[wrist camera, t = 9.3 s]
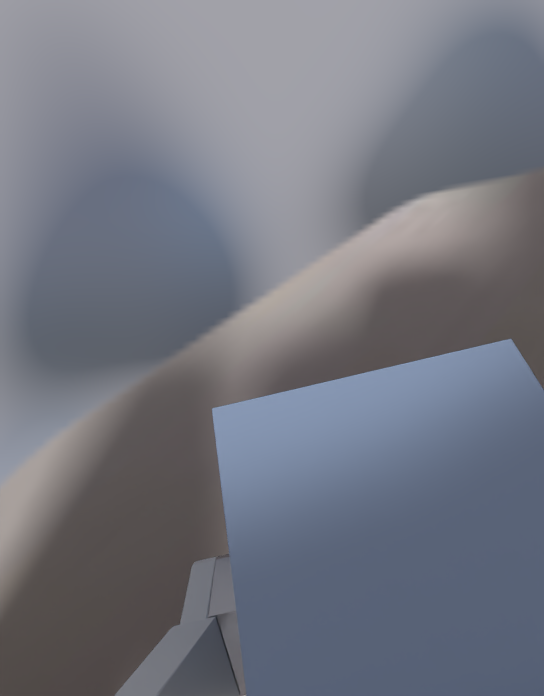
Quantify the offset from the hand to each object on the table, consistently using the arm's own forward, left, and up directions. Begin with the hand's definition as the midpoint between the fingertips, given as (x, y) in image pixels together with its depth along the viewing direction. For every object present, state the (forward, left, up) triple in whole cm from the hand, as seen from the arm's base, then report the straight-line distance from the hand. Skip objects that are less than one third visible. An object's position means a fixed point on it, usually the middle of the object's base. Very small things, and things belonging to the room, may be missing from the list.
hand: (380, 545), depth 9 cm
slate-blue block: (0, 0, -5) cm, 5 cm away
